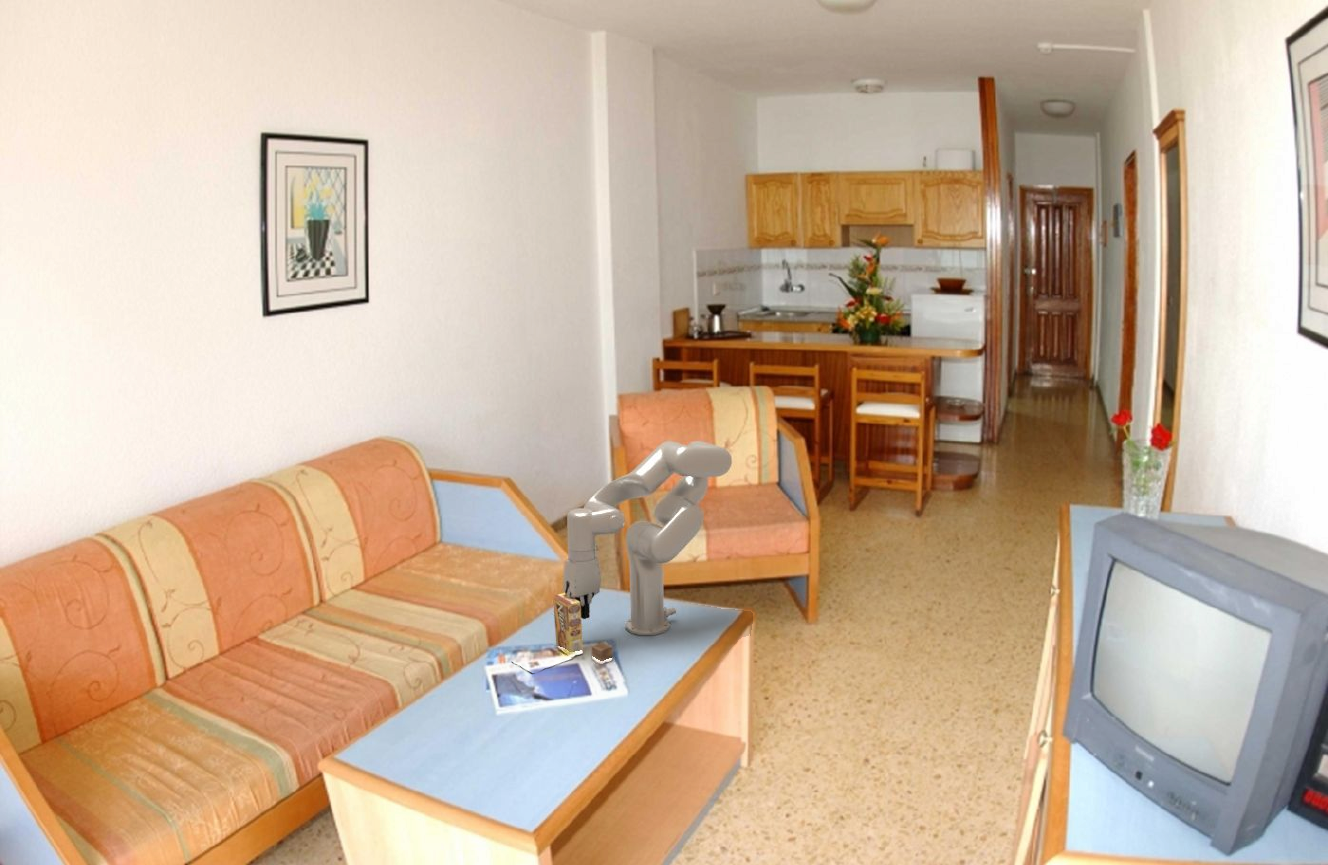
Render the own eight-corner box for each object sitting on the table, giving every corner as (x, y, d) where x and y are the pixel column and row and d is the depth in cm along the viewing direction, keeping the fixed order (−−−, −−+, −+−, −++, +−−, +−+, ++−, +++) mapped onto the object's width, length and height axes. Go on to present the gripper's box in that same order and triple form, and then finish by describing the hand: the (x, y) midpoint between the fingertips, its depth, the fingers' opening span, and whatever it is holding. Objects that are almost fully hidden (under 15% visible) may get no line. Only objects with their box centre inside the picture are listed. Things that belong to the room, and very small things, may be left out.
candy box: (583, 654, 275) (581, 601, 271) (570, 658, 272) (567, 605, 269) (568, 643, 282) (566, 591, 279) (554, 647, 280) (552, 595, 276)
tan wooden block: (603, 655, 274) (603, 642, 273) (613, 660, 271) (612, 646, 270) (592, 660, 271) (591, 646, 270) (601, 665, 268) (600, 651, 267)
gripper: (595, 544, 283) (596, 606, 287) (551, 556, 273) (553, 620, 277) (612, 551, 277) (613, 613, 281) (568, 563, 268) (570, 628, 271)
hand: (583, 617), depth 279 cm, fingers closed
